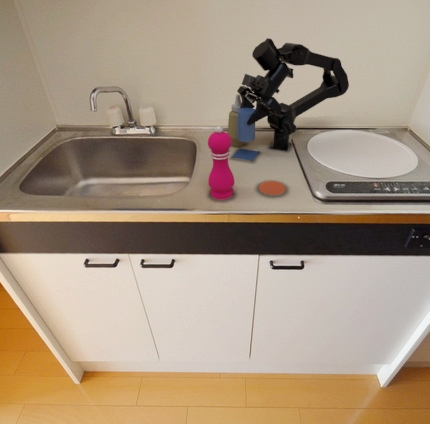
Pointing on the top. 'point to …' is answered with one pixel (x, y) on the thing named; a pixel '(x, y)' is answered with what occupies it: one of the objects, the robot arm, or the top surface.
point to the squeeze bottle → (234, 123)
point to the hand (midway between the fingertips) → (242, 121)
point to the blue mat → (245, 154)
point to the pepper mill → (220, 165)
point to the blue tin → (245, 125)
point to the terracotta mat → (272, 188)
